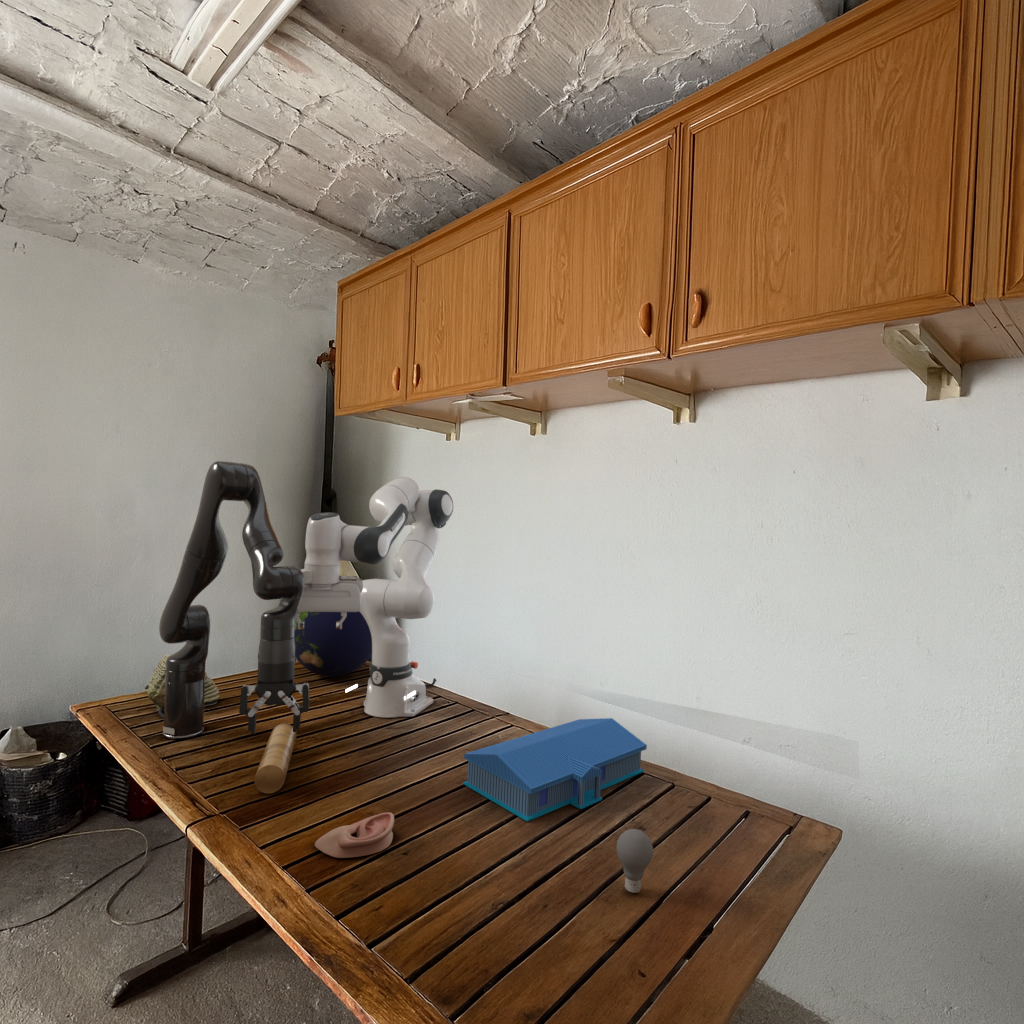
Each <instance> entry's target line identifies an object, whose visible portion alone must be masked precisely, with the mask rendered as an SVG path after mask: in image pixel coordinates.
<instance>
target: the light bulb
mask: <svg viewBox="0 0 1024 1024" xmlns="http://www.w3.org/2000/svg"><path fill="white" fill-rule="evenodd" d="M615 849H616V854H617V857H618V859H619V861H620V863H621V865H622V867H623V873H624V874H623V875H624V876H625V878H624V888H625V890H627V891H628V892H630V893H634V894H635V893H639V892H640V891H641V889H642V887H641V886H642V879H643V877H644V875H645V871H646V868H647V867H648V866H649V864H650V863H651V861H652V859H653V855H654V847H653V843H652V841H651V838H649V836H648V835H647V834H646V833H645V832H643V831H642V830H641V829H636V828H629V829H627V830H625V831H623V832H622V833H621V834H620V835H619V837H618V839H617V841H616V847H615Z"/></svg>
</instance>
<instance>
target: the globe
mask: <svg viewBox="0 0 1024 1024" xmlns="http://www.w3.org/2000/svg"><path fill="white" fill-rule="evenodd" d="M342 617H343V616H341V612H300V615H299V618H300V620H301V621H302V622H304V629H298V623H297V621H296V620H295V633H294V640H295V659H296V660H297V661H298V663H299V664H300V665H301V666H302V667H304V668H305V669H306V670H307V671H308V672H311V673H313V674H315V675H317V676H321V677H325V678H337V677H343V676H347V675H349V674H352V673H353V672H355V671H357V670H358V669H360V668H361V667H362V666H364V664H366V663H367V662H368V660H369V659H371V657H372V638H371V632H370V629H369V626H368V624H367V622H366V620H365V618H364V617H363V616H362V614H361V613H360V612H359V611H358V612H347V616H346V618H345V620H344V621H343V623H342V629H336V622H337V621H340V620H341V618H342Z"/></svg>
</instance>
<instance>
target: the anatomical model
mask: <svg viewBox="0 0 1024 1024" xmlns="http://www.w3.org/2000/svg"><path fill="white" fill-rule="evenodd" d="M394 824H395V815H394V814H393V813H392V812H381V813H379V814H375V815H371V816H369V817H366V818H364V819H361V820H359V821H356V822H354V823H352V824H347V825H342V826H337V827H336V828H333V829H331V830H329V831H328V832H326V833H325V834H323V835H321V836H320V837H319V838H318V839H317V840H316V841H315V842H314V847H315V848H316V849H318V850H319V851H320V852H322V853H323V854H325V855H327V856H330V857H332V858H335V859H349V858H358V857H364V856H369V855H374V854H376V853H379V852H382V851H383V850H385V849H387V848H388V847H390V845H391V844H392V842H393V839H394V833H393V828H394Z"/></svg>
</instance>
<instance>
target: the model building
mask: <svg viewBox="0 0 1024 1024" xmlns="http://www.w3.org/2000/svg"><path fill="white" fill-rule="evenodd" d="M647 745H648V744H646V742H643V740H641V739H640V738H638V737H637V736H636V735H634V734H633V733H632V732H630V730H628V729H627V728H626V727H624V726H623V725H622V724H621V723H619V722H618V721H616V720H615V719H614V718H612V717H609V718H607V717H606V718H605V717H604V718H580V719H576V720H572V721H570V722H566V723H562V724H560V725H556V726H552V727H550V728H546V729H543V730H539V731H536V732H532V733H529V734H526V735H523V736H519V737H516V738H513V739H510V740H505V741H503V742H499V743H496V744H492V745H489V746H486V747H482V748H479V749H475V750H473V751H470V752H469V751H468V752H465V753H464V754H463V759H464V760H466V761H467V780H465V781H463V782H462V783H463V784H462V785H464V786H465V787H467V788H469V789H471V790H473V791H474V792H476V793H478V794H479V795H481V796H483V797H485V798H486V799H488V800H490V801H491V802H493V803H495V804H496V805H498V806H500V807H502V808H503V809H505V810H507V811H508V812H510V813H512V814H513V815H515V816H517V817H518V818H520V819H522V820H524V821H525V822H530V821H532V820H536V819H537V818H540V817H541V816H544V815H547V814H549V813H551V812H553V811H556V810H559V809H560V808H562V807H565V806H567V805H571V806H573V807H575V808H577V809H579V810H583V809H585V808H587V807H590V806H592V805H594V804H596V803H599V802H601V801H603V797H602V796H601V792H602V790H605V789H607V788H610V787H612V786H614V785H616V784H618V783H621V782H623V781H626V780H629V779H631V778H632V777H635V776H637V775H639V774H641V773H645V770H644V769H643V768H641V760H642V752H643V751H645V750H647Z"/></svg>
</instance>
